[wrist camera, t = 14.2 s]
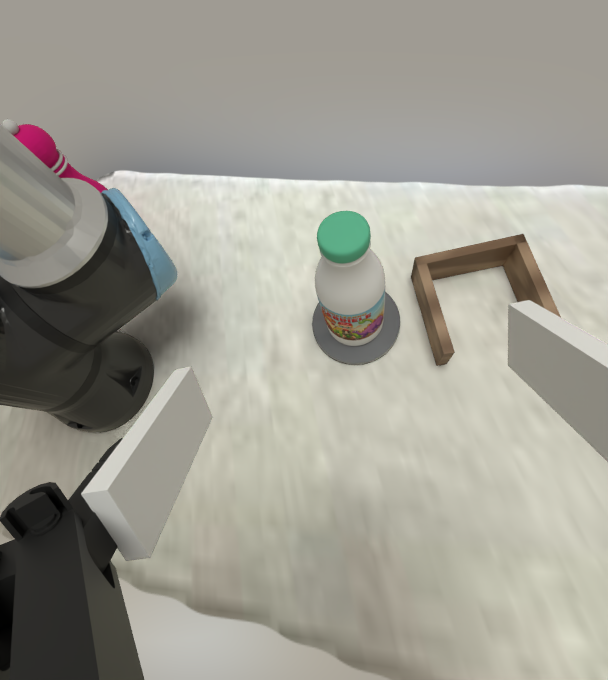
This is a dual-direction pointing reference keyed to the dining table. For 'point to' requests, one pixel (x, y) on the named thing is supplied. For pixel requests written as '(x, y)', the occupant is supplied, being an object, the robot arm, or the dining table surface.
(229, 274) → the dining table surface
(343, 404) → the dining table surface
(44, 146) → the pepper mill
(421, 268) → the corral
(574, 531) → the dining table surface
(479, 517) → the dining table surface
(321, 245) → the milk bottle
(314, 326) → the coaster
